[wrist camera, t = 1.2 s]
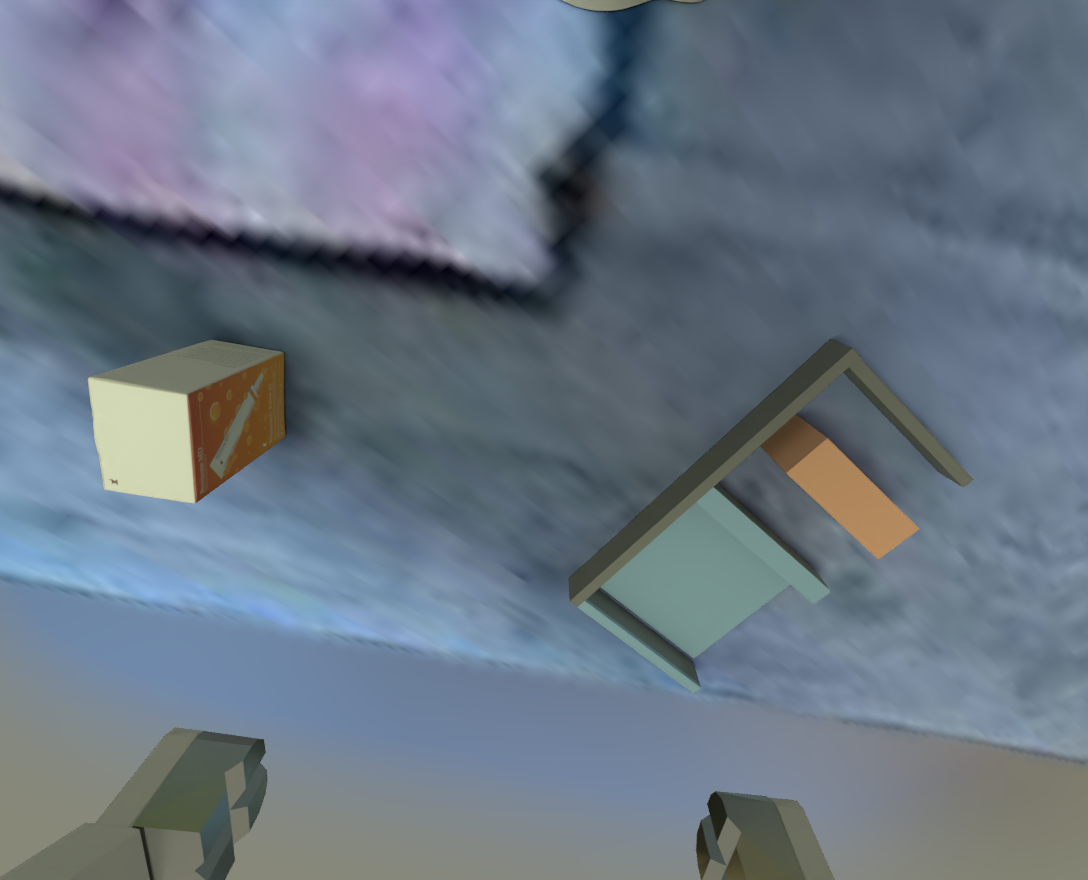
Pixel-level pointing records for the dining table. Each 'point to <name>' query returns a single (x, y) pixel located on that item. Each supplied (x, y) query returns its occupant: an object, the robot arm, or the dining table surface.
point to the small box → (187, 418)
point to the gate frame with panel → (722, 533)
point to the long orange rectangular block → (838, 486)
